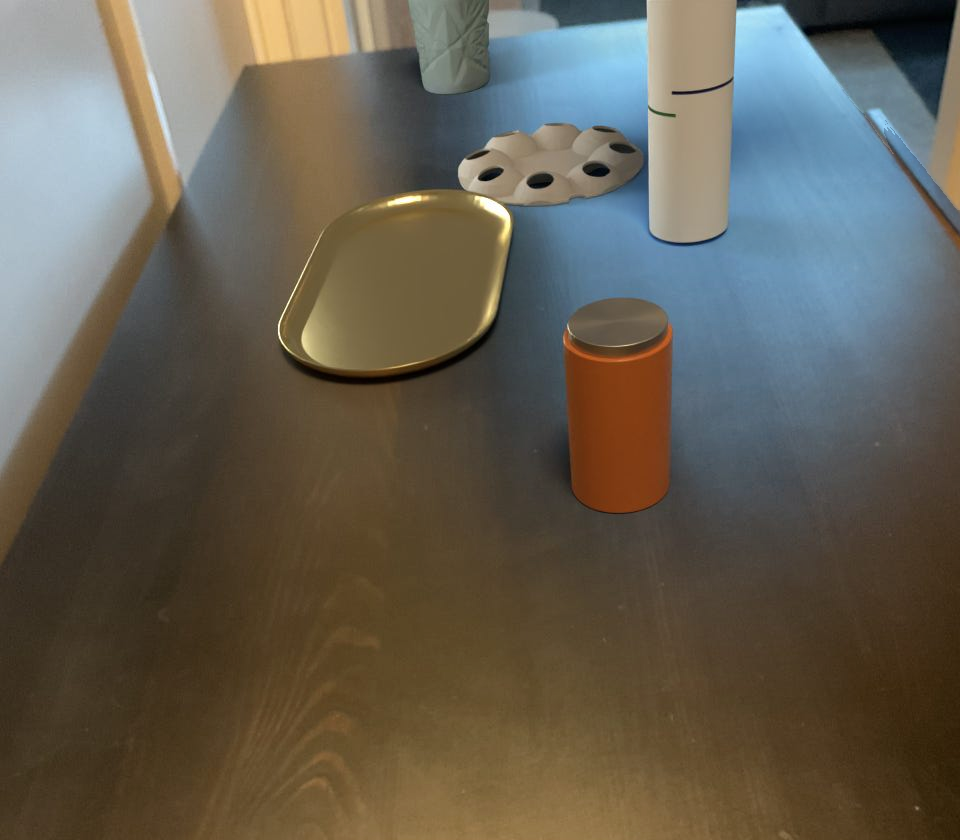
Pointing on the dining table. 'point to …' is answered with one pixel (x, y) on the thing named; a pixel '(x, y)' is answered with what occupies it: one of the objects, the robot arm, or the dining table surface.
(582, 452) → the orange can
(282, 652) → the dining table surface
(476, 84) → the drinking glass
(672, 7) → the cylindrical container
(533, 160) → the round palette
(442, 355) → the serving platter
